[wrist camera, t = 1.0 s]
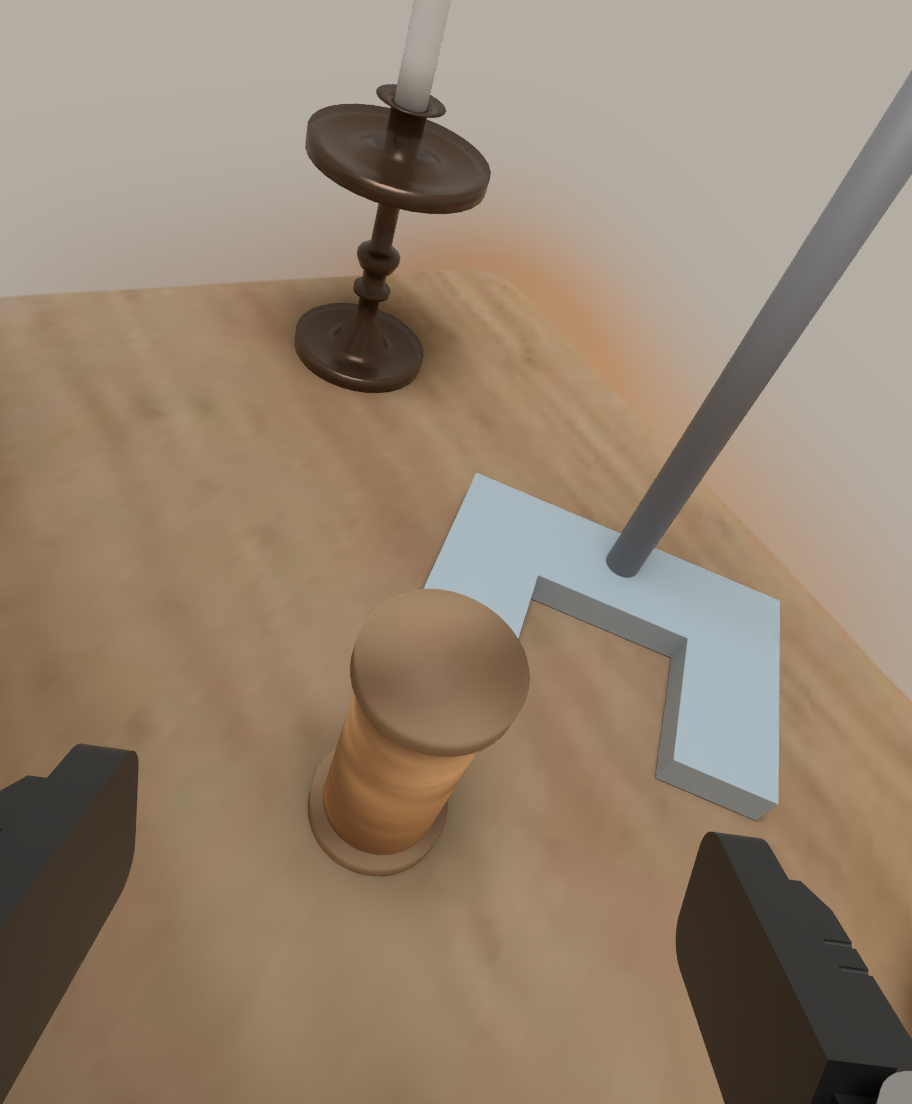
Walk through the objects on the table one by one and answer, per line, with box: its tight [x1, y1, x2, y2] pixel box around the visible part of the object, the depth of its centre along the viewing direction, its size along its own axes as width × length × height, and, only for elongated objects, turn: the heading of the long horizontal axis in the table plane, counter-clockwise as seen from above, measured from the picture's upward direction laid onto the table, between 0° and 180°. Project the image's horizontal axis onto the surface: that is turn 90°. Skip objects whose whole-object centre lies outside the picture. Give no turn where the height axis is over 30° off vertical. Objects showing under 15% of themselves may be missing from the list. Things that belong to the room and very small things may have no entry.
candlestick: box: [294, 0, 491, 393], centre depth 44 cm, size 11×11×35 cm
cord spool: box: [308, 589, 530, 876], centre depth 31 cm, size 6×6×12 cm
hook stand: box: [424, 71, 912, 820], centre depth 34 cm, size 20×14×30 cm
